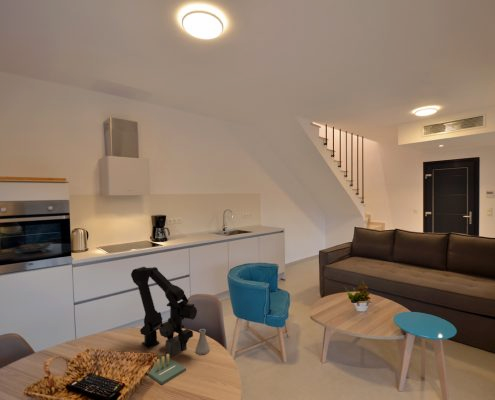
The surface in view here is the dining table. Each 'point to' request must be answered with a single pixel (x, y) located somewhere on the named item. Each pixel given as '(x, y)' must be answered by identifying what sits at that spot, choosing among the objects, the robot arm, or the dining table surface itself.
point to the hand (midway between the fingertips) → (176, 347)
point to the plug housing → (173, 346)
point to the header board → (165, 369)
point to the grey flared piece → (202, 343)
